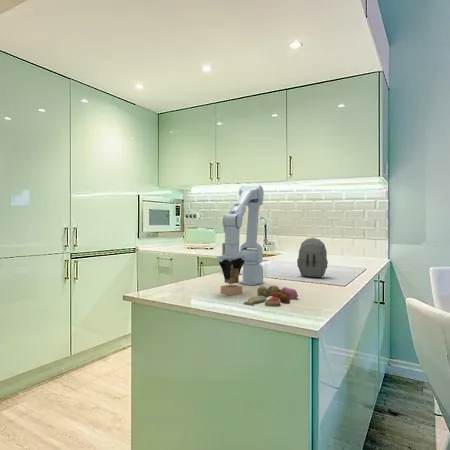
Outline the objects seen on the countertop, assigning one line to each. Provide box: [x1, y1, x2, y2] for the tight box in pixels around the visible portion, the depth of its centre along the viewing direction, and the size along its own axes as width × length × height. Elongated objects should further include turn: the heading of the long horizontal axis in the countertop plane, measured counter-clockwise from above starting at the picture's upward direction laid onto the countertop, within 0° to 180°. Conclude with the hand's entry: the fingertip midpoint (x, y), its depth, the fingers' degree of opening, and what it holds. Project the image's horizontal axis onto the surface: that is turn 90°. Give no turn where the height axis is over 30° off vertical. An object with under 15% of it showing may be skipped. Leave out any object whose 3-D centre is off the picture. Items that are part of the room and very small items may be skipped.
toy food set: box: [243, 285, 299, 307], centre depth 129 cm, size 26×16×4 cm, turn 159°
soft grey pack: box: [296, 237, 329, 278], centre depth 178 cm, size 15×8×20 cm, turn 65°
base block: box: [220, 283, 243, 296], centre depth 139 cm, size 6×6×3 cm
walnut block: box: [224, 268, 240, 285], centre depth 139 cm, size 4×4×6 cm
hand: (231, 278), depth 139 cm, fingers closed on walnut block, 5 cm apart
